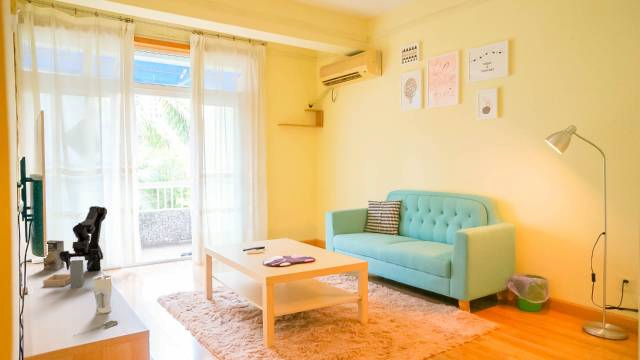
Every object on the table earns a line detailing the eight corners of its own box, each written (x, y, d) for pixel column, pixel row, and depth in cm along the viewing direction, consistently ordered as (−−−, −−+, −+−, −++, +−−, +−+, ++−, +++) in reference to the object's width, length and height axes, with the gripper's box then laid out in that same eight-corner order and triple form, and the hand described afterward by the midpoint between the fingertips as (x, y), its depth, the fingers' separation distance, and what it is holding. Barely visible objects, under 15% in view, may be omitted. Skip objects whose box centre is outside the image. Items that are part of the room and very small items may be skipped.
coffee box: (43, 269, 253) (41, 242, 252) (50, 266, 260) (49, 240, 259) (57, 269, 252) (56, 242, 251) (65, 267, 259) (64, 240, 258)
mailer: (80, 276, 240) (80, 270, 240) (65, 285, 223) (65, 280, 223) (60, 276, 239) (60, 271, 239) (43, 286, 222) (43, 280, 222)
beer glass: (92, 311, 187) (90, 277, 186) (108, 307, 192) (107, 274, 191) (98, 315, 182) (96, 281, 181) (115, 311, 187) (113, 277, 186)
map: (120, 323, 175) (120, 321, 175) (70, 343, 157) (70, 341, 157) (113, 321, 177) (113, 319, 177) (62, 340, 160) (62, 338, 160)
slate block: (83, 284, 225) (82, 259, 224) (81, 286, 221) (80, 261, 220) (73, 285, 224) (72, 260, 223) (70, 287, 220) (69, 262, 219)
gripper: (59, 236, 225) (52, 262, 215) (98, 234, 229) (94, 259, 219) (65, 247, 233) (58, 273, 223) (102, 245, 238) (98, 270, 228)
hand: (77, 269), depth 223 cm, fingers open, 9 cm apart
